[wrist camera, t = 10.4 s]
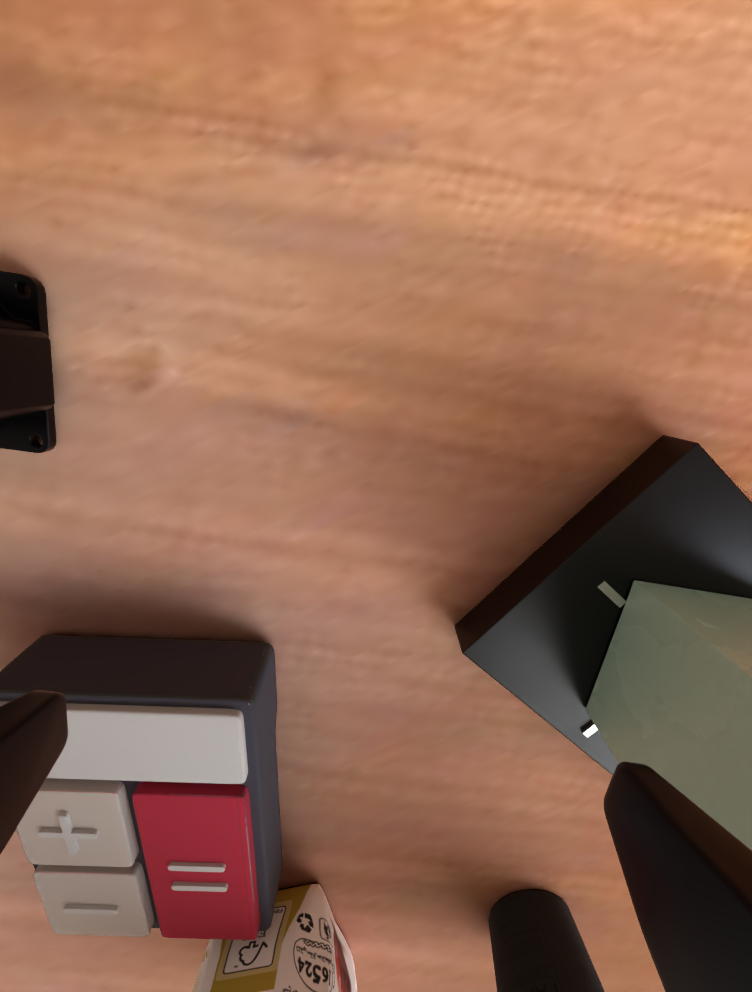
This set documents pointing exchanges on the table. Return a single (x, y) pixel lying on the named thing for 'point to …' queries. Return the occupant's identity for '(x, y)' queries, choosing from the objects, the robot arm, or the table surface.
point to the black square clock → (609, 581)
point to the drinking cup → (539, 946)
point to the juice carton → (284, 952)
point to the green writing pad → (683, 696)
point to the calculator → (156, 786)
